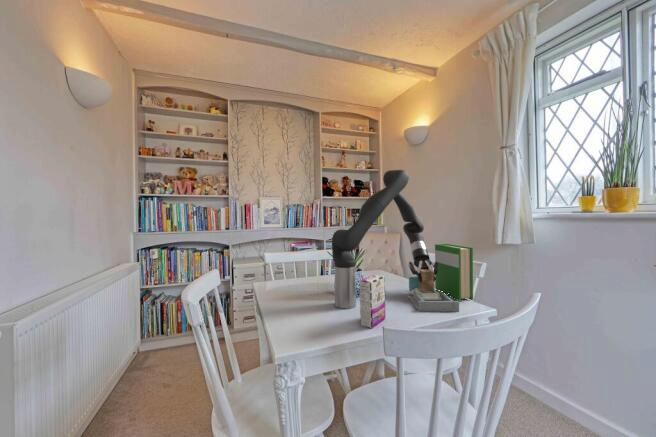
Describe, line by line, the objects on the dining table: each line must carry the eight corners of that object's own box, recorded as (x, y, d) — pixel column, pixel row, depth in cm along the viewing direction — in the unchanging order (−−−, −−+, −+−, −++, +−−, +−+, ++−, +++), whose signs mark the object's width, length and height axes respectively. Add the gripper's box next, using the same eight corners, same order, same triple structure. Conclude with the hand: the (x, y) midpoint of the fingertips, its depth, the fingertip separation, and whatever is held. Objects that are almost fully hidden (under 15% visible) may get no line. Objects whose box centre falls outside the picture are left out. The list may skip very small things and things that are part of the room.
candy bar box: (373, 316, 103) (373, 274, 102) (385, 318, 100) (385, 275, 99) (359, 325, 94) (358, 279, 94) (371, 329, 91) (371, 281, 91)
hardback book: (473, 299, 121) (472, 247, 121) (459, 300, 120) (458, 248, 119) (447, 289, 138) (447, 243, 138) (435, 290, 137) (435, 244, 137)
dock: (418, 310, 107) (418, 301, 107) (408, 297, 124) (408, 289, 124) (459, 311, 106) (458, 301, 106) (443, 298, 123) (443, 290, 123)
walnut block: (422, 291, 120) (422, 271, 120) (419, 288, 125) (419, 269, 125) (433, 291, 120) (433, 271, 120) (430, 288, 125) (430, 269, 125)
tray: (417, 299, 117) (416, 284, 117) (408, 290, 132) (408, 276, 132) (444, 299, 117) (444, 284, 116) (433, 290, 131) (433, 276, 131)
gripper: (406, 247, 131) (413, 277, 119) (435, 247, 130) (445, 277, 118) (404, 256, 136) (410, 285, 124) (432, 256, 135) (441, 285, 123)
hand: (427, 281), depth 121 cm, fingers closed on walnut block, 5 cm apart
